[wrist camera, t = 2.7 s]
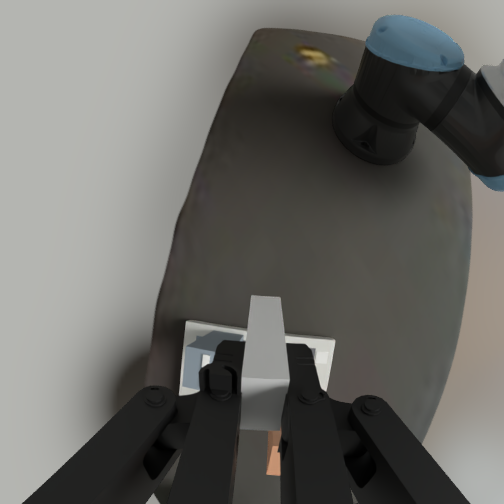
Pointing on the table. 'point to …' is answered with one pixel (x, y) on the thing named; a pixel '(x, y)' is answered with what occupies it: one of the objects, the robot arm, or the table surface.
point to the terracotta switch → (273, 453)
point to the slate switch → (203, 355)
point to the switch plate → (198, 329)
